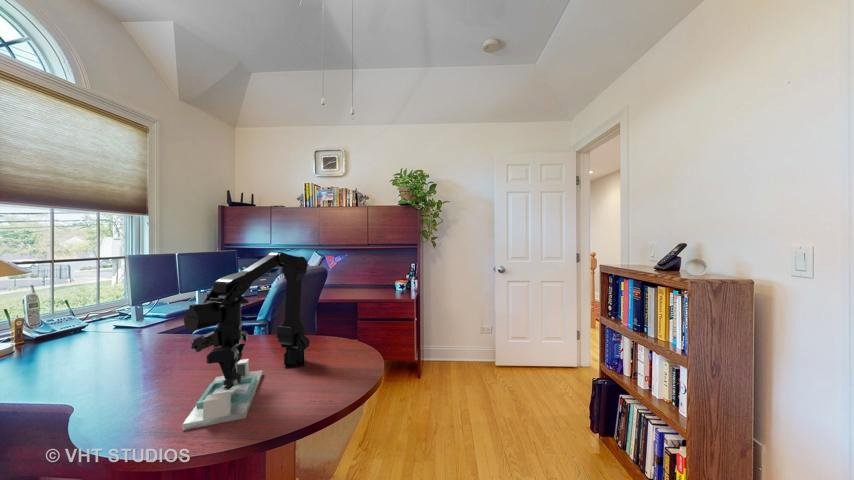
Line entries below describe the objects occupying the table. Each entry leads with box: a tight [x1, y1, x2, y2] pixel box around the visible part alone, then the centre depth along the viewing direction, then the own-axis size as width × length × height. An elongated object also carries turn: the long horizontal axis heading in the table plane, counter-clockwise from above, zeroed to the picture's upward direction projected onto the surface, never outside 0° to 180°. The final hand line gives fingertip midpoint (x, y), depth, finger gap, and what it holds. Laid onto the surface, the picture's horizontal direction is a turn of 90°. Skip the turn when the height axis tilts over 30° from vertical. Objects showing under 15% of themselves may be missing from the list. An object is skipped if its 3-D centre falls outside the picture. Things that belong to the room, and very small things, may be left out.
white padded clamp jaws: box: [203, 358, 250, 420], centre depth 84 cm, size 5×26×4 cm, turn 21°
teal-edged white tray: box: [182, 370, 263, 431], centre depth 84 cm, size 13×26×3 cm, turn 21°
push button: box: [220, 350, 243, 392], centre depth 84 cm, size 7×5×10 cm
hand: (229, 375), depth 85 cm, fingers closed on push button, 4 cm apart
